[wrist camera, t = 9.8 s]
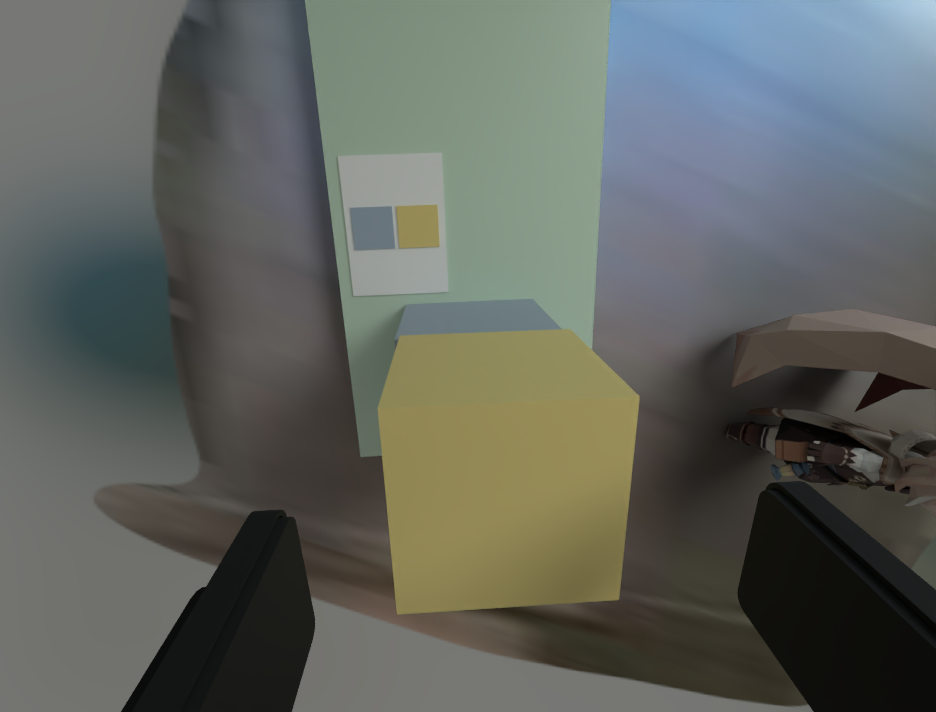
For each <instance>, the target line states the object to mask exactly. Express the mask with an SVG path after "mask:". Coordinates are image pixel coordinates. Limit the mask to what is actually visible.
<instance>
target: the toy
mask: <svg viewBox="0 0 936 712" xmlns="http://www.w3.org/2000/svg"><path fill="white" fill-rule="evenodd" d="M736 335H737V342H736V351H735V360H734V369H733V378H732V387H731V388H733V387H735V386H737V385H740V384H742V383H744V382H747V381H749V380H752V379H754V378H756V377H759V376H761V375H764V374H766V373H768V372H771V371H773V370H775V369H778V368H780V367H783V366H785V365H788V366H801V367H814V368H827V369H841V370H854V371H867V372H878V374H877V375H876V377H875V379H874V380H873V382H872V384H871V385H870V387H869V389H868V390H867V392H866V394H865V395H864V397H863V399H862V400H861V402H860V404H859V405H858V407H857V409H856V410H855V412H856V411H858V410H860V409H862V408H865V407H867V406H869V405H871V404H873V403H875V402H877V401H880V400H882V399H884V398H886V397H888V396H890V395H892V394H895V393H897V392H899V391H901V390H908V389H934V390H936V326H931V325H926V324H922V323H917V322H912V321H907V320H903V319H898V318H893V317H889V316H884V315H879V314H874V313H870V312H865V311H860V310H856V309H847V310H838V311H828V312H819V313H809V314H800V315H792V316H790V317H787V318H784V319H781V320H778V321H775V322H771V323H768V324H765V325H762V326H758V327H755V328H752V329H749V330H745V331H742V332H739V333H736ZM748 414H756V415H772V416H778V417H784V419H783V420H782V421H781V424H780V425H776V426H772V425H763V424H755V423H753V422H746V423H732V424H729V426H728V427H729V428H728V431H727V439H729V440H731V441H742V442H743V443H745V444H747V445H752V446H755V447H757V448H760V449H762V450H765V451H767V452H769V453H771V454H773V455H775V457H776V458H777V459H781V460H784V462H785V463H786V464H787V465H784V466H782V467H780V468H778V467H776V466H775V465H771V470H772V474H773V476H774V477H775V479H776V480H777V481H778V480H779V479H780V478H781V476H785V477H787V476H798V478H800V479H802V480H805V481H808V482H815V483H831V484H828V485H843V484H847V485H853V486H859V487H860V488H861V489H865V490H866V489H867V488H868V487H871V486H886V487H885V489H886V490H888V491H894V492H895V491H896V492H897V491H900V493H905V494H909V498H908V499H907V501H906V503H905V505H904V506H912V505H915V504H919V503H920V504H921V505H922V506H923V507H924V508H925V509H926V510H928V511H929V512H931V513H932V514H933V515H935V516H936V437H934V436H933V435H931V434H928V433H926V432H923V431H921V430H910V431H908V432H906V433H904V434H902V435H901V434H898V433H896V432H894V431H891V430H890V432H891V435H892V436H890V435H888V434H885V433H883V432H880V431H878V430H876V429H873V428H871V427H868V426H866V425H862V424H859V423H854V422H850V421H847V420H844V419H840V418H837V417H834V416H830V415H827V414H822V413H817V412H812V411H806V410H793V409H779V408H771V407H769V408H758V409H750V410H749V412H748Z"/></svg>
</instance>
